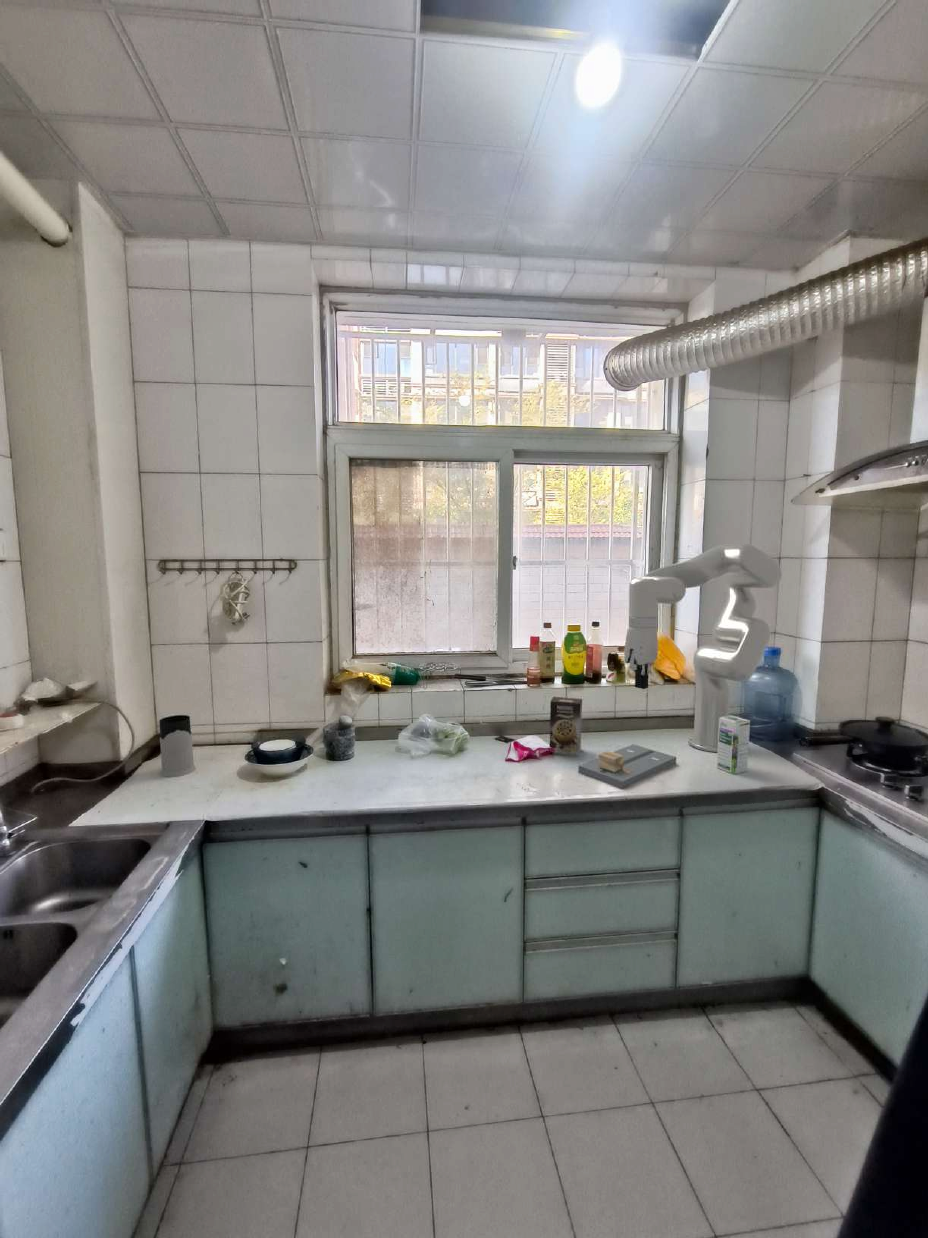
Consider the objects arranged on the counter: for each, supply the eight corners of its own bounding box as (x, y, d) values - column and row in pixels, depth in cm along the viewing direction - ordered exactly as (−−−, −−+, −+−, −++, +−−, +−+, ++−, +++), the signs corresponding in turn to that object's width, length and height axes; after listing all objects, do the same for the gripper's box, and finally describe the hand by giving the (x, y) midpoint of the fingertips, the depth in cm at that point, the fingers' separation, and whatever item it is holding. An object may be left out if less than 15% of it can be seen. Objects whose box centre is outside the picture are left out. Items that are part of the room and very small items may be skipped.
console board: (632, 750, 164) (633, 743, 164) (676, 763, 153) (676, 756, 153) (578, 772, 147) (578, 765, 147) (622, 789, 137) (622, 781, 136)
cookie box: (548, 753, 162) (549, 701, 160) (551, 746, 168) (552, 695, 166) (579, 756, 159) (580, 703, 158) (581, 749, 165) (582, 697, 164)
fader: (607, 763, 148) (607, 750, 148) (623, 768, 144) (623, 755, 144) (598, 766, 146) (598, 754, 145) (614, 772, 142) (614, 759, 141)
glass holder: (162, 779, 145) (158, 725, 143) (155, 763, 156) (152, 713, 154) (198, 772, 150) (195, 719, 148) (189, 757, 161) (186, 708, 160)
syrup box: (715, 767, 150) (718, 717, 148) (729, 764, 153) (732, 714, 151) (734, 775, 145) (736, 722, 143) (748, 771, 148) (751, 719, 146)
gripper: (645, 619, 157) (644, 681, 159) (615, 624, 147) (614, 690, 149) (669, 621, 151) (667, 685, 153) (639, 627, 142) (638, 695, 144)
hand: (641, 687), depth 151 cm, fingers closed
